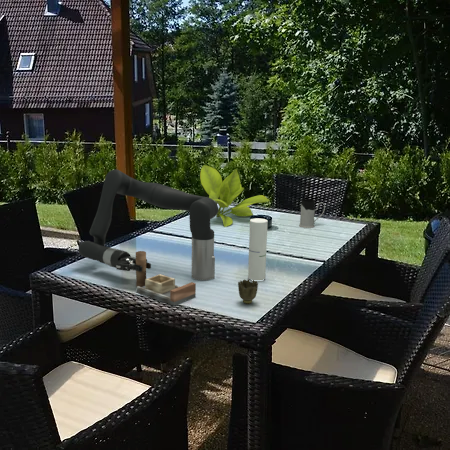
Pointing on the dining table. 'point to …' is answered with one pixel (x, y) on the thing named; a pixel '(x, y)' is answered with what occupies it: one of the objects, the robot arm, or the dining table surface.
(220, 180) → the artificial plant
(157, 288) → the sliding block
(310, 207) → the grey mug
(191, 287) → the rail board
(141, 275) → the dowel
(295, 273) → the dining table surface
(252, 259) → the cylindrical container
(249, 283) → the cup
